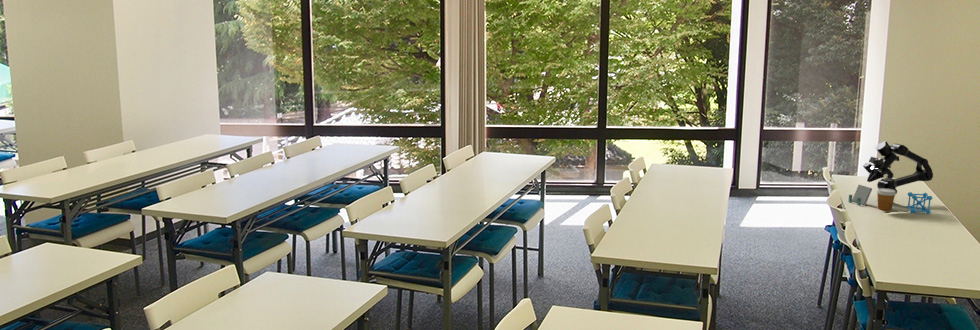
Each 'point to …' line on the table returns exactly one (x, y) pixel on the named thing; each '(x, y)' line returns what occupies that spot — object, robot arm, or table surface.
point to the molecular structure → (919, 202)
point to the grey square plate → (862, 194)
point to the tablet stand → (857, 200)
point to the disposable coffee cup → (885, 199)
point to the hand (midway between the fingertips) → (868, 181)
